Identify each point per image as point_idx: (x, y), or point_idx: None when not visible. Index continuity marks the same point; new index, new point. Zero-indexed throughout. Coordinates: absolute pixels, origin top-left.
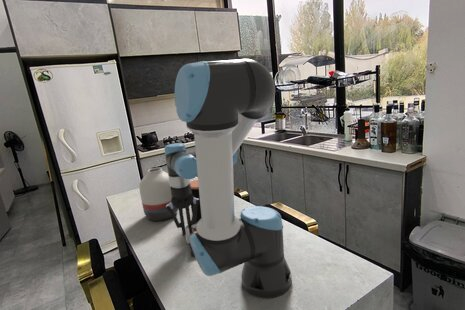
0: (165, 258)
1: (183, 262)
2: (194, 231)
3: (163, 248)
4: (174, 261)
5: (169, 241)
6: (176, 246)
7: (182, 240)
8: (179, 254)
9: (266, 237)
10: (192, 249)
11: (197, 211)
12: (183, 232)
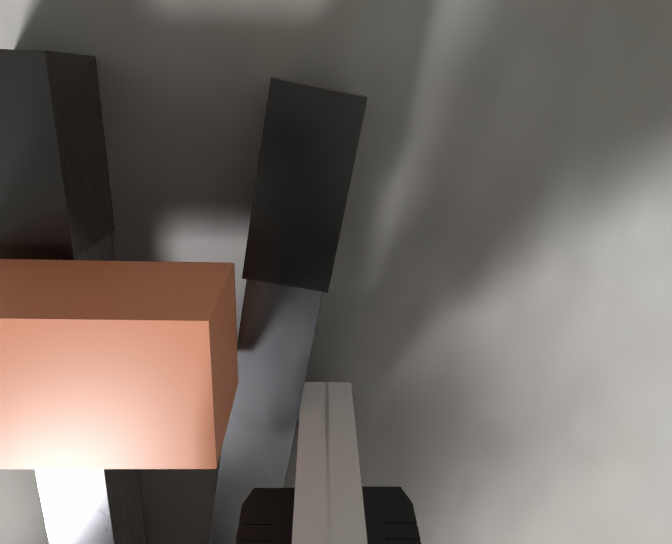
0: (663, 234)
1: (485, 18)
2: (194, 467)
3: (618, 443)
4: (585, 108)
5: (520, 539)
6: (475, 418)
7: None
8: (485, 237)
9: None
10: (325, 103)
11: None
12: (401, 530)
